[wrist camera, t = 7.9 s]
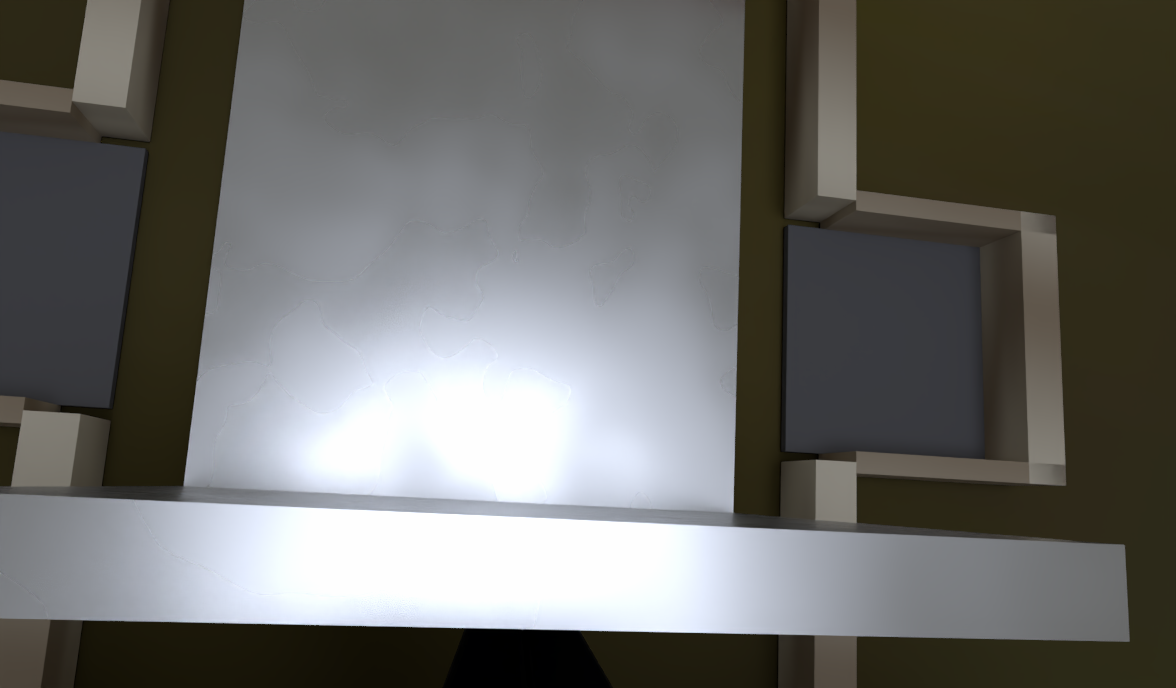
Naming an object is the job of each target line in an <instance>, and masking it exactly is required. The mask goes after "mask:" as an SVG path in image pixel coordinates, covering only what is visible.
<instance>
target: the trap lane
mask: <svg viewBox="0 0 1176 688" xmlns="http://www.w3.org/2000/svg"><path fill="white" fill-rule="evenodd" d="M169 3H170V0H88V1H87V8H86V14H85V20H84V27H83V33H82V39H81V46H80V52H79V59H78V65H77V71H76V78H75V84H74V89H67V88H59V87H52V86H44V85H36V84H28V83H21V82H13V81H5V80H0V426H7V427H20V434H19V440H18V446H17V453H16V459H15V465H14V472H13V478H12V485H11V487H27V486H102V480H103V473H104V466H105V459H106V452H107V445H108V438H109V430H110V423H111V421H110V420H105V419H101V418H97V417H92V416H88V415H83V414H74V413H60V409H61V406H73V407H89V408H105V409H113V402H114V395H115V388H116V381H117V373H118V366H119V359H120V352H121V345H122V338H123V331H124V324H125V317H126V309H127V302H128V295H129V288H130V281H131V274H132V267H133V260H134V252H135V245H136V238H137V231H138V224H139V217H140V210H141V203H142V195H143V188H144V181H145V174H146V167H147V160H148V151H147V150H146V149H145V148H136V147H128V146H119V145H111V144H102V143H101V137H102V136H103V137H112V138H120V139H128V140H137V141H145V142H150V138H151V131H152V124H153V117H154V110H155V103H156V96H157V89H158V81H159V74H160V67H161V60H162V53H163V46H164V39H165V32H166V24H167V17H168V10H169ZM784 218H786V219H795V220H803V221H811V222H820V229H819V228H811V227H803V226H794V225H787V226H786V227H784V282H783V355H782V429H781V452H795V453H811V454H819V460H803V461H786V462H781V503H780V517H789V518H801V519H813V520H826V521H838V522H850V523H856V476H857V477H874V478H891V479H908V480H925V481H942V482H959V483H976V484H993V485H1010V486H1066V471H1065V446H1064V420H1063V395H1062V370H1061V345H1060V320H1059V295H1058V269H1057V244H1056V219H1055V216H1052V215H1044V214H1036V213H1028V212H1021V211H1013V210H1005V209H997V208H990V207H982V206H974V205H966V204H959V203H951V202H943V201H935V200H928V199H920V198H912V197H904V196H897V195H889V194H881V193H873V192H866V191H858V190H856V0H787V60H786V134H785V208H784ZM82 623H83V620H54V619H5V618H0V688H73V687H74V680H75V673H76V666H77V658H78V651H79V644H80V637H81V630H82ZM778 688H857V636H833V635H784V634H779V650H778Z"/></svg>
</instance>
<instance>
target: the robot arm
mask: <svg viewBox="0 0 1176 688" xmlns="http://www.w3.org/2000/svg"><path fill="white" fill-rule="evenodd" d="M443 688H613V687H612V685H611V684H610V682H609V680H608V679H607V677H606V675H605V673H604V672H603V670H602V668H601V666H600V665H599V663H598V661H597V660H596V658H595V656H594V654H593V653H592V651H591V649H590V648H589V646H588V644H587V642H586V641H585V639H584V637H583V636H582V634H581V632H580V630H541V629H492V628H465V630H464V633H463V635H462V638H461V641H460V643H459V646H458V649H457V651H456V654H455V656H454V659H453V662H452V664H451V667H450V670H449V672H448V675H447V677H446V680H445V683H444V685H443Z"/></svg>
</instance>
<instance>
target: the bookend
mask: <svg viewBox="0 0 1176 688" xmlns="http://www.w3.org/2000/svg"><path fill="white" fill-rule="evenodd" d="M744 16H745V0H245V1H244V9H243V17H242V25H241V33H240V41H239V49H238V57H237V65H236V73H235V81H234V89H233V97H232V105H231V113H230V121H229V129H228V137H227V144H226V152H225V160H224V168H223V176H222V184H221V192H220V200H219V208H218V216H217V224H216V232H215V240H214V248H213V256H212V264H211V272H210V280H209V288H208V296H207V304H206V312H205V320H204V327H203V335H202V343H201V351H200V359H199V367H198V375H197V383H196V391H195V399H194V407H193V415H192V423H191V431H190V439H189V447H188V455H187V463H186V471H185V479H184V486H27V487H0V618H5V619H54V620H103V621H151V622H200V623H249V624H297V625H346V626H395V627H443V628H492V629H541V630H589V631H638V632H687V633H735V634H784V635H833V636H882V637H930V638H979V639H1028V640H1076V641H1125V642H1130V641H1129V621H1128V601H1127V581H1126V561H1125V545H1119V544H1107V543H1095V542H1083V541H1070V540H1058V539H1046V538H1034V537H1021V536H1009V535H997V534H985V533H972V532H960V531H948V530H936V529H924V528H911V527H899V526H887V525H875V524H862V523H850V522H838V521H826V520H813V519H801V518H789V517H777V516H764V515H752V514H740V513H733V501H734V457H735V412H736V368H737V324H738V280H739V236H740V192H741V148H742V104H743V60H744Z"/></svg>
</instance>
